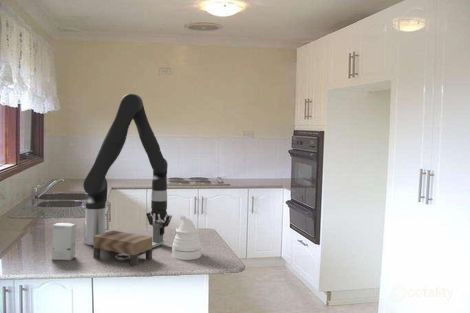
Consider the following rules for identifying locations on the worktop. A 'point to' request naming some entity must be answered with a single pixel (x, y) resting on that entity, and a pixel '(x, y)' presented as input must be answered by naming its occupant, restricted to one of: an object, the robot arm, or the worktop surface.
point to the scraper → (157, 235)
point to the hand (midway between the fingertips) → (158, 234)
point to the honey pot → (186, 241)
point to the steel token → (122, 256)
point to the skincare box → (63, 241)
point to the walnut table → (123, 244)
